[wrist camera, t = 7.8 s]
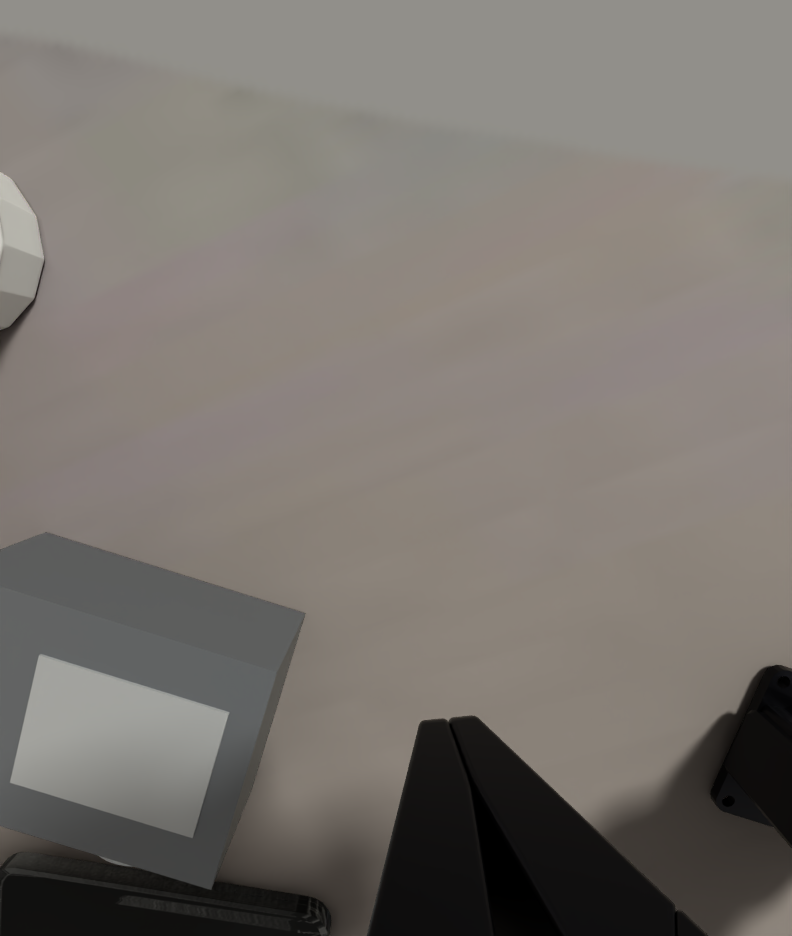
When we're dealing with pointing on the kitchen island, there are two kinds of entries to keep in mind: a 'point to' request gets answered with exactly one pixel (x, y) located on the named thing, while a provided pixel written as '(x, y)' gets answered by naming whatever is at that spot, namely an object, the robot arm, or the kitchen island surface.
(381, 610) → the kitchen island surface
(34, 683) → the camera case
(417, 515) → the kitchen island surface
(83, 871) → the phone
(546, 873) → the robot arm
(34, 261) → the white cup
